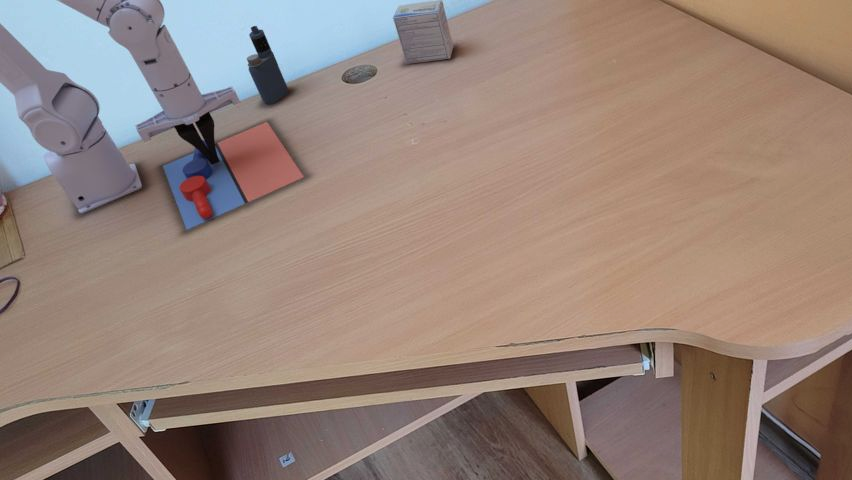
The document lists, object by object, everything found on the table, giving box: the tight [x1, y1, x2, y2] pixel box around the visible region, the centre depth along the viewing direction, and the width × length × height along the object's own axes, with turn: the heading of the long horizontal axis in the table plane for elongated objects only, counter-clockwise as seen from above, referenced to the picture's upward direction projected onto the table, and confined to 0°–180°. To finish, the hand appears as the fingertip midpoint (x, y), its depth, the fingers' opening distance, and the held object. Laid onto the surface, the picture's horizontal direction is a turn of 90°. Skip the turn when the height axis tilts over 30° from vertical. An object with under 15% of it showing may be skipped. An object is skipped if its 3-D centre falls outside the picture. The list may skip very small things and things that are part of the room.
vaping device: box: [246, 25, 290, 105], centre depth 118 cm, size 3×5×12 cm, turn 150°
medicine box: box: [392, 0, 454, 65], centre depth 120 cm, size 8×4×9 cm, turn 84°
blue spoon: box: [182, 139, 212, 179], centre depth 109 cm, size 10×4×2 cm, turn 12°
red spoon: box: [180, 176, 212, 219], centre depth 102 cm, size 10×4×2 cm, turn 30°
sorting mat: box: [162, 121, 305, 231], centre depth 107 cm, size 18×20×1 cm
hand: (214, 160), depth 109 cm, fingers closed
